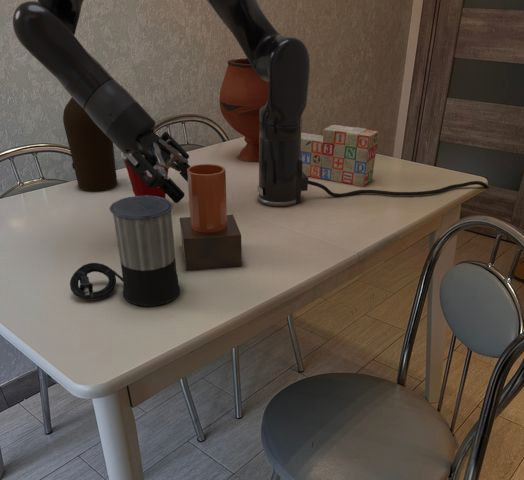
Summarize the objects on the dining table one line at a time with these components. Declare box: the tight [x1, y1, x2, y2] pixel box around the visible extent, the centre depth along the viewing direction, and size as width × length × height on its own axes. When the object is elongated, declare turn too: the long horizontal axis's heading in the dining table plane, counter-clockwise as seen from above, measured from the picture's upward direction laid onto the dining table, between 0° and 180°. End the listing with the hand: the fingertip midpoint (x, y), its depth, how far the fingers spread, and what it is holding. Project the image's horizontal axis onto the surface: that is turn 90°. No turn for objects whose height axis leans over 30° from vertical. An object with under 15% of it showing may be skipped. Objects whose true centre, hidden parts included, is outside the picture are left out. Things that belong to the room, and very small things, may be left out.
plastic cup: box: [120, 151, 170, 199], centre depth 116 cm, size 11×11×12 cm
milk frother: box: [69, 195, 181, 307], centre depth 83 cm, size 14×16×15 cm
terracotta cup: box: [187, 163, 228, 233], centre depth 93 cm, size 6×6×10 cm
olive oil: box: [62, 96, 118, 192], centre depth 125 cm, size 11×11×25 cm
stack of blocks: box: [300, 124, 380, 187], centre depth 136 cm, size 21×6×12 cm, turn 60°
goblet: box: [218, 57, 269, 162], centre depth 147 cm, size 19×19×25 cm
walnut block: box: [179, 213, 243, 271], centre depth 97 cm, size 10×10×6 cm
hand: (190, 191), depth 93 cm, fingers open, 8 cm apart
